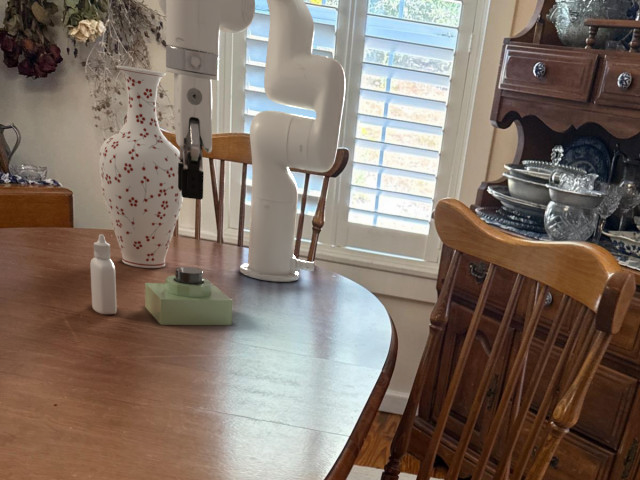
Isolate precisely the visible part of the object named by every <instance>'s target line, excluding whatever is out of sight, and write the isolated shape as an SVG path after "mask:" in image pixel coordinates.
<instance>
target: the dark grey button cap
mask: <svg viewBox="0 0 640 480" xmlns="http://www.w3.org/2000/svg"><path fill="white" fill-rule="evenodd" d="M174 271H175V273H174V274H175V281H176V282H179V283H183V284H189V285H199V284H202V278H204V277H203V275H204V273H203V272H204V271H203V270H202V269H199V268H195V267H190V266H178V267H176V268H175V270H174Z"/></svg>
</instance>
